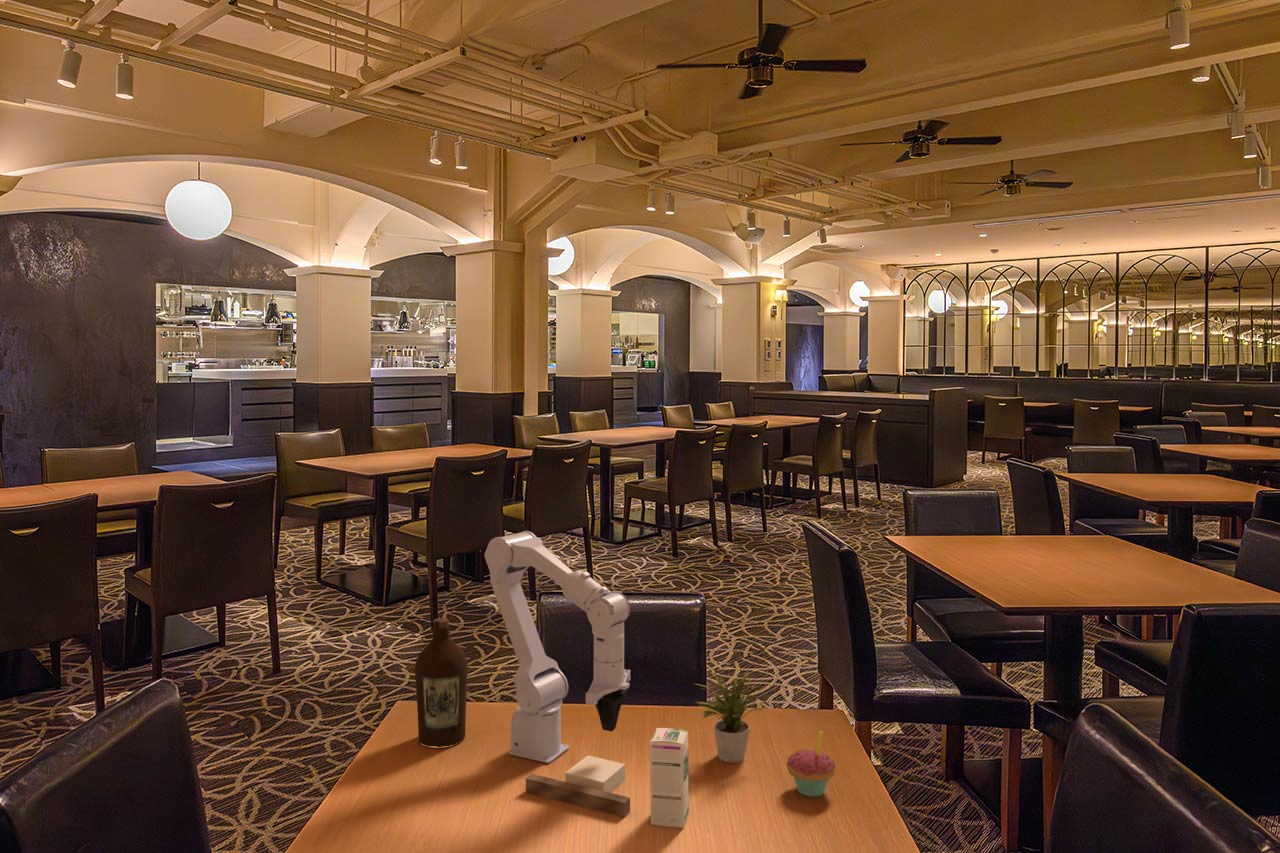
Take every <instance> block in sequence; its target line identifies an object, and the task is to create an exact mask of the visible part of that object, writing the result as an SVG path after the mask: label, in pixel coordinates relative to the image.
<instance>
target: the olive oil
mask: <svg viewBox="0 0 1280 853" xmlns="http://www.w3.org/2000/svg"><path fill="white" fill-rule="evenodd" d="M432 624H433V626H432V639H431V640H430V641H429V642H428V643H427V645H426V646H425V647H424V648H422V650H421V651H420V652H419V654H418V655H417V658H416V660H415V665H414V677H415V678H414V679H415V693H416V695H415V696H416V707H417V708H416V710H417V730H418V734H417V735H418V742H420V743H422V744H424V745H427V746H437V747H441V746H442V747H443V746H450V745H454V744H456V743H459V742H461V741H462V740H463V739H464V738H465V739H466V727H467V726H466V723H467V721H466V719H467V718H466V717H467V716H466V715H467V713H466V712H467V693H468V692H467V691H468V670H469V668H468V666H469V664H468V659H467V656H466V653H465V652H464V650H463V649H462V648H461V647H460V646H459V645H458V644H457V643H456V642H455V641H454V640H453V639H452V638H451V637H450V625H449V624H450V620H449V619H448V618H446V617H440V618H435V619H434V620H433V621H432ZM465 739H464V740H465ZM464 740H463V741H464ZM463 741H462V742H463ZM462 742H461V743H462ZM420 743H419V744H420ZM459 744H460V743H459Z"/></svg>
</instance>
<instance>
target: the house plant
mask: <svg viewBox="0 0 1280 853" xmlns="http://www.w3.org/2000/svg"><path fill="white" fill-rule="evenodd" d="M710 674H712V676H714V678H715V680H716V681H717V683H718V687H719V690H720V692H721V694H722V697H723V699H724V700H723V699H722V698H721V696H720V695H719V694H718V693H717V692H716V691H715V690H714V689H713V688H711V687H709V686H707V685H704V684H699V683H695V685H697V686H701V687H702V688H701V687H700V689H701V690H702V689H703V690H704V688H703V687H705V690H706V691H708V692H710V691H711V692H710V694H712V696H713V697H714V699H715V700H713V701H710V702H704V701H694V703H695V704H697V705H699V707H701V708H704V709H706V710H705V711H703V712H701V715H703V717H702V719H705V718H708V717H711V716H715V717H716V718H718V719H719V718H721V719H719V720H717V721H716V722H714V724H713V728H714V729H713V730H714V735H715V743H716V750H717V754H718V755H717V756H718V758H719V760H721V761H722V762H726V763H733V764H735V763H741V762H743V761H744V760H745V757H746V751H747V745H748V741H749V735H750V734H749V733H750V729H751V727H750V726H751V725H749V723H747V722H746V721H744V720H743V719H744V718H745V716H746V715H748V713H751V712H753V711H762V712H764V713H765V711H764V710H763V709H762V708H753V709H752V710H749V711H748V712H746V710H747V709H748V707H747V705H749V703H750V701H752V699H753V698H755V696H757V695H758V693H755V694H754V695H753V696H751V697H750V695H751V694H752V692H753V689H754V687H755V683H754V684H753V685H752V687H751V689H749V688H750V685H751V681H752V679H750V680H749V681H748V684H747V685H746V687H745V690H744V691H743V688H744V686H745V683H746V681H747V678H748V675H749V674H750V671H747V672H746V673H745V674H743V676H742V677H741V679H740V680H739V681H738V680H737V678H735V679H734V681H733V683H732V684H733V685H732V687H731V692H730V693H729V689H728V686H727V683H726V682H725V681H724V680H723V679H721V678H719V676H717V675H716V674H715V673H714V672H710ZM737 682H738V683H737ZM712 692H713V693H712ZM742 692H743V693H742ZM747 692H748V693H747ZM746 694H747V695H746ZM749 697H750V698H749ZM748 698H749V699H748ZM745 712H746V713H745ZM744 713H745V714H744ZM743 714H744V715H743ZM718 716H719V717H718Z"/></svg>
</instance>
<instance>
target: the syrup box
mask: <svg viewBox="0 0 1280 853" xmlns="http://www.w3.org/2000/svg"><path fill="white" fill-rule="evenodd" d="M689 764H690V763H689V731H688V730H686V729H683V728H675V727H673V728H672V727H656V728H655V731H654V733H653V735H652V736H651V739H650V741H649V768H650V769H649V776H650V777H649V780H650V783H649V785H650V786H649V787H650V794H649V795H650V824H651V825H652V826H658V827H665V828H675V829H684V828H685V824H686V821H687V819H688V815H689V812H690V790H689V789H690V788H689V787H690V782H689V781H690V778H689V777H690V776H689V774H690V771H689V768H690V767H689Z"/></svg>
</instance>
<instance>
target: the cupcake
mask: <svg viewBox="0 0 1280 853" xmlns="http://www.w3.org/2000/svg"><path fill="white" fill-rule="evenodd" d="M823 730H824V727H821V730H819V732H818V739H817V743H816V747H815V748H816V749H814V748H813V749H801V750H797V751H796V752H793V753H792V754H790V756H789V757H788V758H787V761H786V769H787V770H788V774H789V775H790V776H792V777H793V779H794V782H795V786H796V788H797V789H796V790H797V792H799V793H800V794H801V795H803V796H806V797H811V798H816V797H820V796H822V795H824V793H825V791H826V787H827V785H828V782H829V780H830V779H832V778H833V777H834V776H835V772H836V771H835V770H836V763H835V762H834V761H833V759H832V758H831V757H830V756H828V755H827V754H826V753H824V752H823V751H821V745H822V741H823V736H824V731H823Z"/></svg>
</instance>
